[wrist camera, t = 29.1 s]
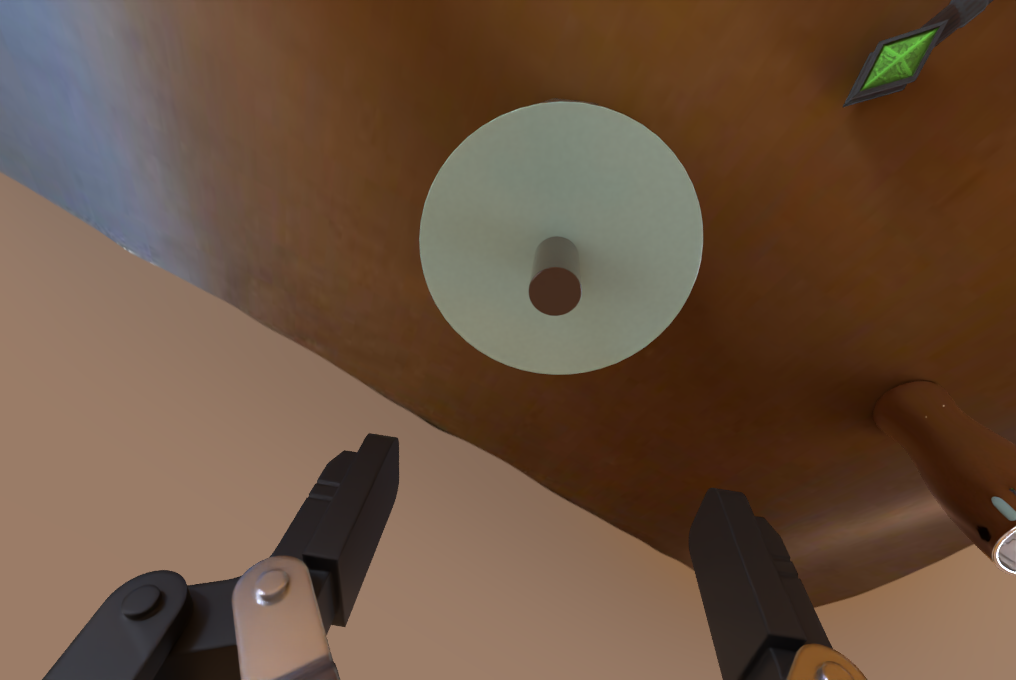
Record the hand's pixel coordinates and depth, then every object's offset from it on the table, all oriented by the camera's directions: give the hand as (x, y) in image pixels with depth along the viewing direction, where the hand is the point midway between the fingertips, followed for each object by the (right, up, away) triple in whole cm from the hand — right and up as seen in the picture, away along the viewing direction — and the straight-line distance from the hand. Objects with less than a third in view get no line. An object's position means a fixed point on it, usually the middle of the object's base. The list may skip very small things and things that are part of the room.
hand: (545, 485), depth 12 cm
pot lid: (+2, +9, +16) cm, 18 cm away
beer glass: (+36, -2, +32) cm, 48 cm away
